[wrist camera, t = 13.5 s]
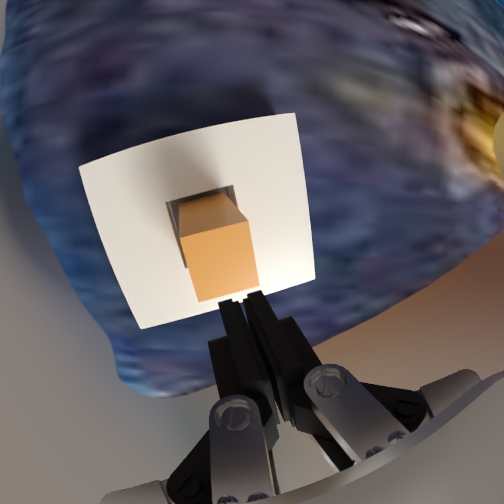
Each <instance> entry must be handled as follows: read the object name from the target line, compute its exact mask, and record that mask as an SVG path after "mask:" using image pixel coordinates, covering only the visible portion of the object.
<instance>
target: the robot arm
mask: <svg viewBox="0 0 504 504" xmlns="http://www.w3.org/2000/svg"><path fill="white" fill-rule="evenodd" d="M243 304H244V308H245V312H246V316H247V320H248V324H249V326H248V324H247V321H246V319H245V316H244V314H243V311H242V309H241V306H240V303H239V301H235V302H233V301H232V298H231V299H228V300H224V301H220V302H218V306H219V309H220V313H221V316H222V320H223V323H224V327H225V330H226V334H227V336H225V337H222V338H218V339H214V340H211V341H208V346H209V351H210V356H211V361H212V365H213V370H214V374H215V379H216V383H217V388H218V392H219V396H220V400H219V401H218V402H217V403H216V404H215V405H214V406H213V407H212V409H211V411H210V416H209V430H208V431H207V432H206V433H205V435H204V436H203V437H202V438H201V440H200V441H199V442H198V443H197V445H196V446H195V447H194V448H193V449H192V451H191V452H190V453H189V454H188V455H187V457H186V458H185V459H184V460H183V461H182V463H181V464H180V465H179V466H178V467H177V468H176V470H175V471H174V472H173V473H172V474H171V476H170V477H169V478H168V479H166V480H162V481H159V480H155V481H152V482H149V483H145V484H141V485H138V486H134V487H131V488H127V489H122V490H118V491H113V492H110V493H108V494H106V495H105V496H104V497H103V498H102V499H101V503H100V504H504V371H501V372H498V373H495V374H493V375H491V376H489V377H487V378H486V379H484V380H481V378H480V377H479V375H478V374H477V373H476V372H474V371H472V370H470V369H463V370H459V371H457V372H455V373H453V374H451V375H448V376H447V377H444V378H442V379H440V380H437V381H434V382H432V383H429V384H427V385H424V386H422V387H420V389H419V390H417V391H411V390H406V389H398V388H392V387H386V386H379V385H374V384H368V383H363V382H359V381H358V380H357V379H356V378H355V377H354V376H353V375H352V374H351V373H350V372H349V371H348V370H346V369H345V368H344V367H342V366H339V365H336V364H324V365H322V363H321V362H320V360H319V358H318V357H317V355H316V354H315V352H314V351H313V349H312V347H311V346H310V344H309V343H308V341H307V339H306V338H305V336H304V335H303V333H302V332H301V330H300V328H299V327H298V325H297V324H296V322H295V320H294V319H293V318H292V317H291V316H290V317H287V318H284V319H281V320H278V319H277V317H276V316H275V314H274V312H273V310H272V308H271V307H270V305H269V303H268V301H267V299H266V297H265V296H264V294H263V292H262V290H258V291H255V292H252V293H248V294H247V298H245V299H243ZM249 328H250V329H249ZM275 401H276V403H277V406H278V408H279V410H280V413H281V415H282V417H283V420H284V422H286V421H289V420H290V422H291V424H292V426H293V427H295V426H296V428H297V430H298V431H301V432H305V433H307V434H308V435H309V437H310V439H311V440H312V441H313V443H314V444H315V446H316V447H317V448H318V450H319V451H320V452H321V454H322V455H323V456H324V458H325V459H326V460H327V462H328V463H329V464H330V466H331V467H332V468H333V470H334V471H335V472H336V474H334V475H332V476H330V477H327V478H325V479H322V480H320V481H317V482H315V483H312V484H309V485H307V486H304V487H301V488H298V489H295V490H292V491H289V492H286V493H283V494H281V490H280V485H279V480H278V474H277V469H276V463H275V459H274V453H273V446H274V444H275V443H276V441H277V440H278V438H279V434H278V430H277V426H276V425H277V424H280V421H279V417H278V412H277V408H276V404H275Z"/></svg>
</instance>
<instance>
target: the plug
mask: <svg viewBox="0 0 504 504" xmlns="http://www.w3.org/2000/svg"><path fill="white" fill-rule="evenodd" d="M179 238H180V242H181V245H182V249H183V253H184V256H185V259H186V263H187V266H188V270H189V273H190V276H191V280H192V283H193V286H194V289H195V293H196V296H197V299H198V302H203V301H206V300H210V299H214V298H218V297H221V296H225V295H229V294H232V293H236V292H240V291H243V290H247V289H251V288H254V287H258V286H260V284H259V278H258V273H257V267H256V261H255V255H254V250H253V244H252V238H251V233H250V227H249V221H248V220H247V219H246V217H245V216H244V215H243V214H242V213H241V212H240V210H239V209H238V208H237V207H236V206H235V205H234V204H233V202H232V201H231V200H230V199H229V198H228V197H227V196H226V194H225V193H220V194H215V195H211V196H207V197H203V198H199V199H195V200H191V201H187V202H183V203H179Z"/></svg>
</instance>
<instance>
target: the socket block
mask: <svg viewBox="0 0 504 504" xmlns="http://www.w3.org/2000/svg"><path fill="white" fill-rule="evenodd" d="M79 170H80V174H81V178H82V181H83V185H84V188H85V192H86V195H87V198H88V202H89V205H90V208H91V211H92V214H93V217H94V220H95V223H96V226H97V229H98V232H99V234H100V237H101V240H102V243H103V245H104V248H105V250H106V253H107V256H108V258H109V261H110V263H111V266H112V268H113V270H114V273H115V275H116V277H117V280H118V282H119V284H120V287H121V289H122V291H123V293H124V296H125V298H126V300H127V302H128V304H129V306H130V308H131V310H132V313H133V315H134V317H135V319H136V321H137V323H138V325H139V327H140V329H144V328H148V327H152V326H156V325H160V324H164V323H168V322H172V321H176V320H179V319H183V318H187V317H190V316H194V315H198V314H201V313H205V312H209V311H212V310H216V309H219V306H218V302H220V301H224V300H228V299H231V298H232V301H233V302H235V301H239V303H240V302H243V299H245V298H247V294H248V293H252V292H255V291H258V290H262V292H263V294H264V295H267V294H270V293H273V292H276V291H279V290H283V289H286V288H289V287H292V286H295V285H298V284H301V283H304V282H307V281H311V280H314V279H315V270H314V258H313V247H312V236H311V226H310V217H309V208H308V200H307V191H306V184H305V176H304V169H303V162H302V155H301V148H300V142H299V135H298V129H297V123H296V117H295V113H288V114H280V115H272V116H265V117H259V118H252V119H246V120H241V121H235V122H230V123H224V124H220V125H215V126H210V127H205V128H201V129H197V130H192V131H188V132H184V133H180V134H176V135H173V136H169V137H165V138H162V139H158V140H155V141H151V142H148V143H144V144H141V145H138V146H135V147H132V148H129V149H126V150H123V151H120V152H117V153H114V154H111V155H108V156H106V157H103V158H100V159H97V160H95V161H92V162H90V163H87V164H85V165H82V166H80V167H79ZM220 193H225V194H226V196H227V197H228V198H229V199H230V200H231V201H232V202H233V204H234V205H235V206H236V207H237V208H238V209H239V210H240V212H241V213H242V214H243V215H244V216H245V217H246V219H247V220H248V221H249V227H250V233H251V238H252V244H253V250H254V255H255V261H256V267H257V273H258V278H259V284H260V286H258V287H254V288H251V289H247V290H243V291H240V292H236V293H232V294H229V295H225V296H221V297H218V298H214V299H210V300H206V301H203V302H198V299H197V296H196V293H195V289H194V286H193V283H192V280H191V276H190V273H189V270H188V266H187V263H186V259H185V256H184V253H183V249H182V245H181V242H180V238H179V203H183V202H187V201H191V200H195V199H199V198H203V197H207V196H211V195H215V194H220Z"/></svg>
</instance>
